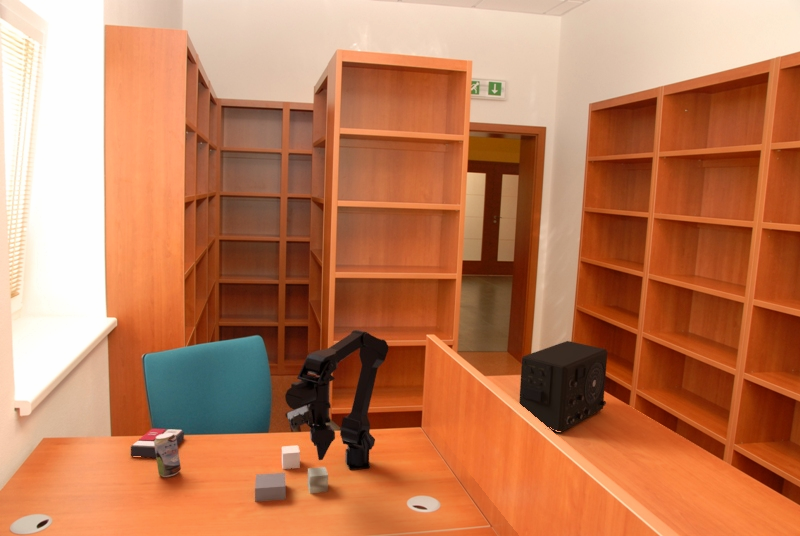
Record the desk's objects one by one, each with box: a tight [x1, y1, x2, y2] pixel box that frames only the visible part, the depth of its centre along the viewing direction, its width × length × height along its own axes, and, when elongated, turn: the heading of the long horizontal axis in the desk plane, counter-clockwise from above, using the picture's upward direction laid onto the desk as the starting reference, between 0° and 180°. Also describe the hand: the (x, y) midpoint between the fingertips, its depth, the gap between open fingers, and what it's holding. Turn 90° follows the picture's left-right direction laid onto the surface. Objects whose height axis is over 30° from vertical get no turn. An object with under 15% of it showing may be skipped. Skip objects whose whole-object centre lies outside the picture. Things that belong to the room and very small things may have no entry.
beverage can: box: [154, 432, 182, 478], centre depth 176 cm, size 6×7×12 cm
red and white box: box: [130, 428, 185, 459], centre depth 194 cm, size 11×4×15 cm
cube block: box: [307, 466, 329, 494], centre depth 171 cm, size 5×5×5 cm
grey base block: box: [254, 472, 287, 502], centre depth 168 cm, size 8×8×4 cm
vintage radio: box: [518, 340, 608, 432], centre depth 229 cm, size 38×20×25 cm, turn 137°
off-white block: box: [281, 445, 301, 470], centre depth 185 cm, size 5×5×5 cm
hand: (318, 452), depth 170 cm, fingers open, 9 cm apart
